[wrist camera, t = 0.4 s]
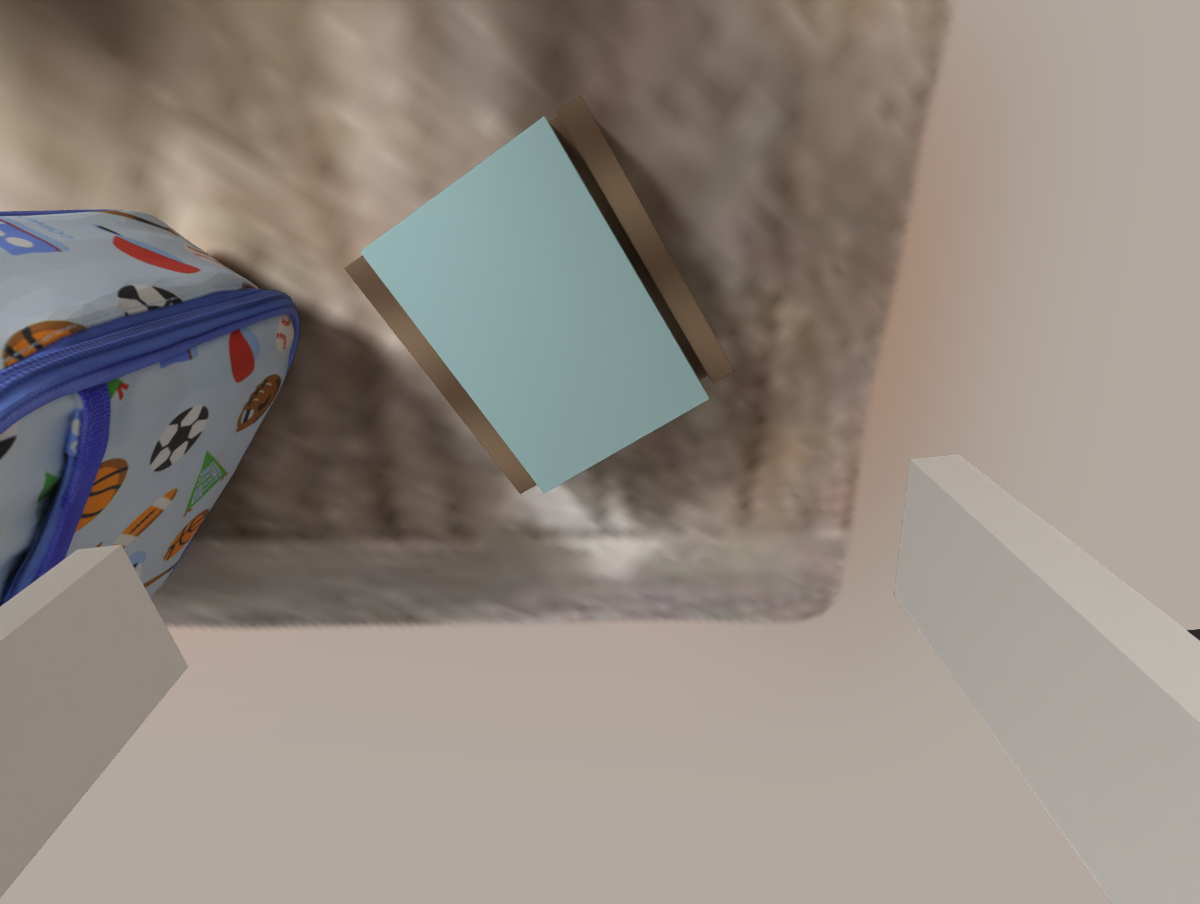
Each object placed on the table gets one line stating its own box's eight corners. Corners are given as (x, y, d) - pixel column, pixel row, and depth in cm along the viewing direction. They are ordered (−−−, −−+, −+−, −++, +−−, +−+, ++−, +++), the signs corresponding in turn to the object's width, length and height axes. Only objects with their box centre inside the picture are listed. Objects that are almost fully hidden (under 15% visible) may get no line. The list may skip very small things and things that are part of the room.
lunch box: (179, 617, 42) (-195, 1012, 22) (24, 546, 40) (-556, 920, 20) (346, 291, 33) (-40, 465, 13) (157, 172, 30) (-682, 160, 10)
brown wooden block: (379, 255, 32) (344, 268, 28) (583, 107, 29) (580, 94, 25) (529, 455, 37) (520, 494, 33) (715, 345, 34) (734, 370, 30)
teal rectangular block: (382, 244, 28) (359, 251, 26) (549, 122, 26) (543, 116, 24) (548, 467, 33) (543, 493, 31) (699, 379, 31) (709, 398, 29)
